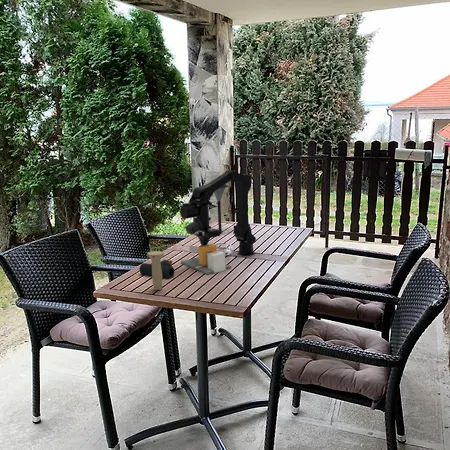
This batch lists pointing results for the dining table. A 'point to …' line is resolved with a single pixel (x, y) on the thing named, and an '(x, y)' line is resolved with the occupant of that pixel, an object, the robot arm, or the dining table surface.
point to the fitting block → (216, 261)
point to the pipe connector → (165, 267)
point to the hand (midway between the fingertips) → (204, 248)
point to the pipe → (194, 249)
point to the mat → (200, 266)
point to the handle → (156, 268)
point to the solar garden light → (219, 203)
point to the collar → (205, 253)
